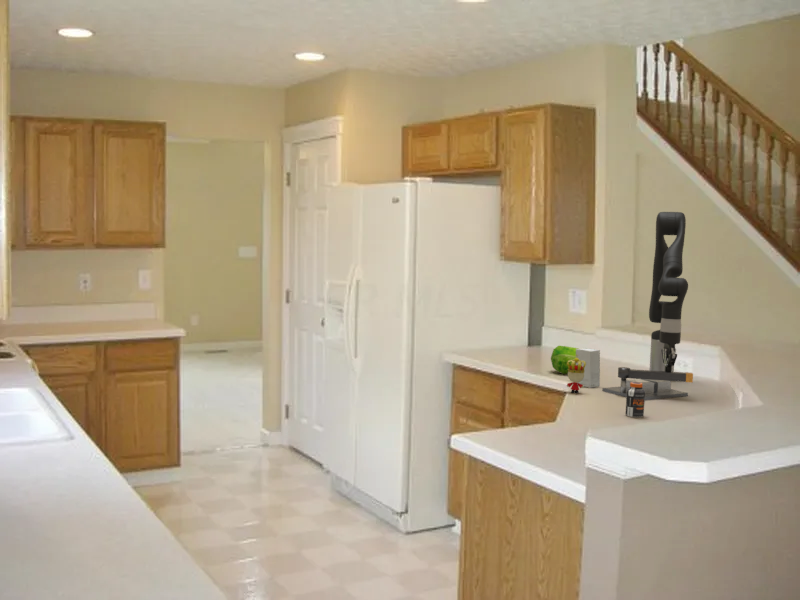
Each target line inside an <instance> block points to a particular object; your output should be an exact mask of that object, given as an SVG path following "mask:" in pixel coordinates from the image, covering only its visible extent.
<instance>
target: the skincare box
mask: <svg viewBox="0 0 800 600" xmlns="http://www.w3.org/2000/svg"><path fill="white" fill-rule="evenodd" d="M577 355H579V356H577ZM576 358H578V359H579V360H581V361H585V362H586V366H585V368H584V370H585V371H584V378H583V380H582V381H580V382H578V383H579V384H582V385H583V386H584V388H585V387H586V388H599V387H600V386H601V377H600V376H601V372H600V371H601V366H600V365H601V350H600V349H595V348H594V349H593V348H586V347H585V348H584V347H583V348H579V349H576ZM576 365H578V363H576ZM581 366H582V367H583V366H584V363H583V362H582V365H581ZM577 385H578V384H577Z"/></svg>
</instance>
